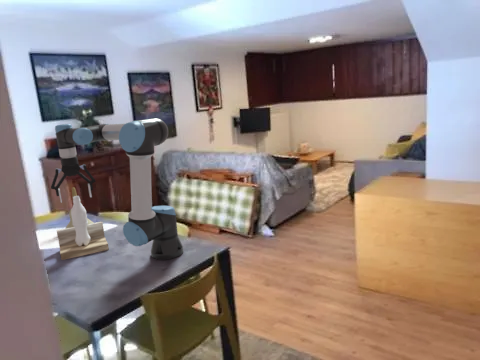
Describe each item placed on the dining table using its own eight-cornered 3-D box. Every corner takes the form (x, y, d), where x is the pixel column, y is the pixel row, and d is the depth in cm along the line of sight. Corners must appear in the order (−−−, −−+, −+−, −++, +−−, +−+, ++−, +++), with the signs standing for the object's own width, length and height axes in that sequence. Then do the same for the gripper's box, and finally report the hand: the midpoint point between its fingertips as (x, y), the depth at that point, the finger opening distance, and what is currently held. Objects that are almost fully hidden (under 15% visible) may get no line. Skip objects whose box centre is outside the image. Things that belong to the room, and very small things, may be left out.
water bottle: (75, 248, 202) (67, 199, 196) (76, 243, 208) (69, 195, 203) (90, 245, 203) (83, 197, 198) (91, 240, 210) (84, 193, 204)
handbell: (67, 226, 246) (60, 186, 240) (94, 222, 250) (87, 182, 244) (65, 234, 231) (57, 192, 226) (93, 230, 236) (86, 188, 230)
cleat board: (108, 249, 205) (105, 228, 202) (61, 260, 196) (57, 238, 193) (105, 241, 217) (102, 221, 215) (60, 250, 208) (56, 230, 206)
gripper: (95, 152, 204) (101, 193, 209) (40, 159, 194) (48, 202, 199) (96, 153, 197) (103, 196, 202) (40, 161, 187) (48, 206, 192)
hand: (76, 199), depth 200 cm, fingers open, 13 cm apart
